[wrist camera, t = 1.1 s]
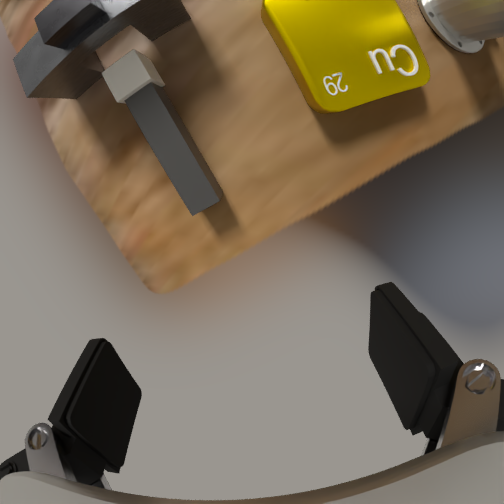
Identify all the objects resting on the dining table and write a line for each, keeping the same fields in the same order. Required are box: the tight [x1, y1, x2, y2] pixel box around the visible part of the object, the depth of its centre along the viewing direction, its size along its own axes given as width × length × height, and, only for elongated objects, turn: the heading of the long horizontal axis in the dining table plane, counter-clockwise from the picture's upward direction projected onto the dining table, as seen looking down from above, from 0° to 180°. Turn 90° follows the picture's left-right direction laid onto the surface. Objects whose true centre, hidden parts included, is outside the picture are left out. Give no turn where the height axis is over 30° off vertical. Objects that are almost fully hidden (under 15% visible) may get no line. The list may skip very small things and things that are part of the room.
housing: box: [13, 0, 191, 99], centre depth 17 cm, size 16×6×12 cm, turn 118°
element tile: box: [261, 0, 430, 114], centre depth 22 cm, size 15×15×5 cm
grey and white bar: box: [101, 49, 223, 216], centre depth 26 cm, size 4×18×5 cm, turn 28°
